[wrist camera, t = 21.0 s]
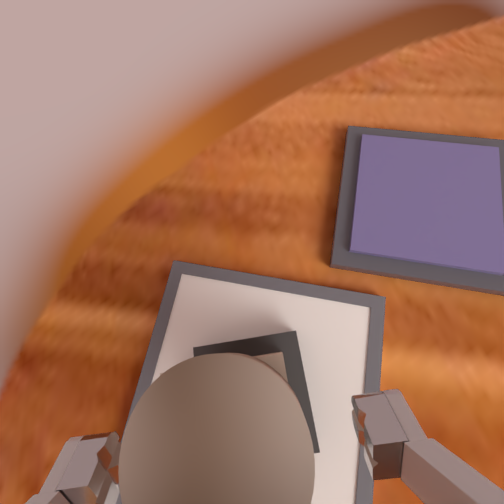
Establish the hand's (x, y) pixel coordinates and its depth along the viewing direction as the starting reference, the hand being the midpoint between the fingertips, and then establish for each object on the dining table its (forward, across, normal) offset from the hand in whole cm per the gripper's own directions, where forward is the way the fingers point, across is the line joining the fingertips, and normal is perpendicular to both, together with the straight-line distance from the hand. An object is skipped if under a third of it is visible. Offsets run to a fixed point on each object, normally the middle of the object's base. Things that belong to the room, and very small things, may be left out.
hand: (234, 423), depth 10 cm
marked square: (+6, 0, +6) cm, 8 cm away
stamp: (+5, 0, +5) cm, 8 cm away
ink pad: (+13, -13, -1) cm, 19 cm away
